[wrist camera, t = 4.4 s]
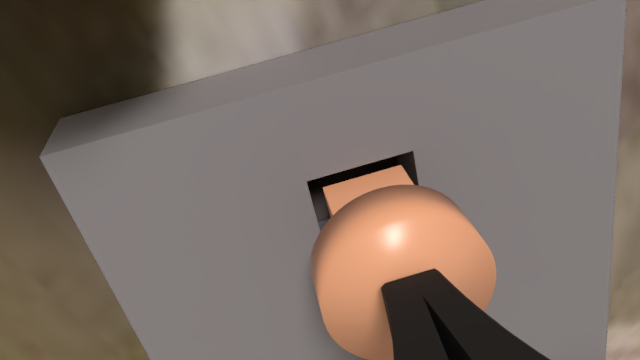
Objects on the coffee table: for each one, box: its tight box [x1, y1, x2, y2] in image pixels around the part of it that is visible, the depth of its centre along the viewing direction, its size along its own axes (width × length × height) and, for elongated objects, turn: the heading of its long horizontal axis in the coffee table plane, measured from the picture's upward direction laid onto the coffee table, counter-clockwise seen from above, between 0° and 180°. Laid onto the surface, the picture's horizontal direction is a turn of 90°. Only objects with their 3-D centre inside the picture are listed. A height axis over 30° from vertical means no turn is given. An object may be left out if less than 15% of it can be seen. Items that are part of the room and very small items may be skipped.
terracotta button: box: [310, 165, 496, 360], centre depth 16 cm, size 4×4×4 cm
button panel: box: [39, 0, 626, 360], centre depth 21 cm, size 16×18×2 cm
